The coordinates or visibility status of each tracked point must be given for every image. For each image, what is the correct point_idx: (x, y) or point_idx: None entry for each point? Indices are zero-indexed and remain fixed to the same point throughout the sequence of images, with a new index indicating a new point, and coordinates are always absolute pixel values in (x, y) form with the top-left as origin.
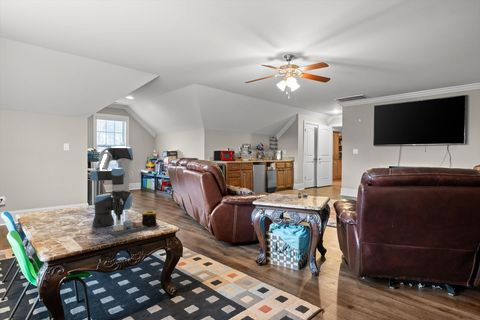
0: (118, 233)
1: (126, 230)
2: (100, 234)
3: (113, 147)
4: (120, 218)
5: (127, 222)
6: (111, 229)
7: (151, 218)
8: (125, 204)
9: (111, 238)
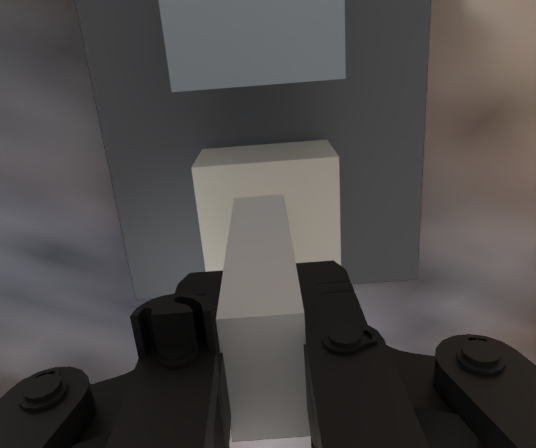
0: (415, 253)
1: (385, 102)
2: None
3: None
4: (349, 285)
5: (319, 40)
6: (136, 260)
7: None
8: None
9: (427, 334)
